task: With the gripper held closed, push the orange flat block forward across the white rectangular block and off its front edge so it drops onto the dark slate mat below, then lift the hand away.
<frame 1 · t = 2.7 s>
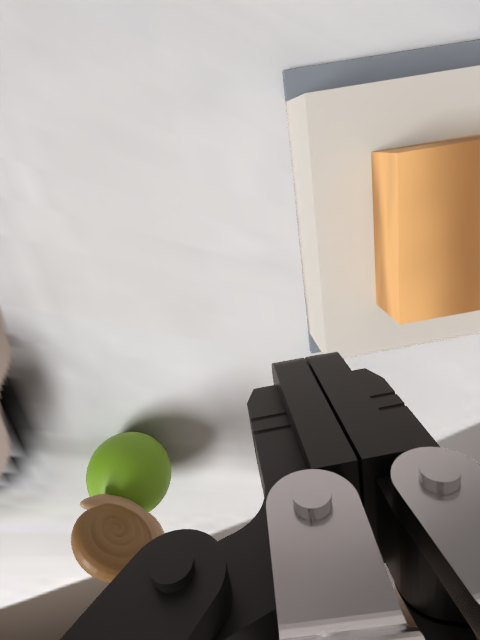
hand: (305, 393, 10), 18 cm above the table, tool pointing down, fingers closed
white rectangular block: (377, 214, 27), resting on mat
green maraca: (141, 448, 32), on the table
orange flat block: (429, 223, 23), point 4 cm above the table, touching white rectangular block
mat: (455, 200, 27), on the table
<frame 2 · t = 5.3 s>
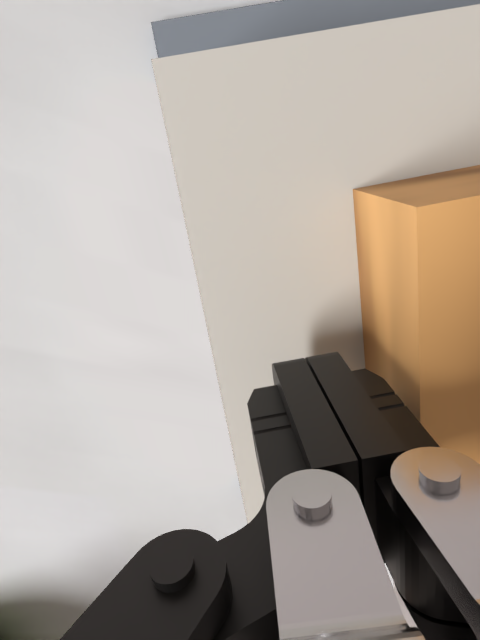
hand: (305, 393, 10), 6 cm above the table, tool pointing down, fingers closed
white rectangular block: (351, 286, 15), resting on mat
orange flat block: (478, 327, 11), point 5 cm above the table, touching white rectangular block, gripper
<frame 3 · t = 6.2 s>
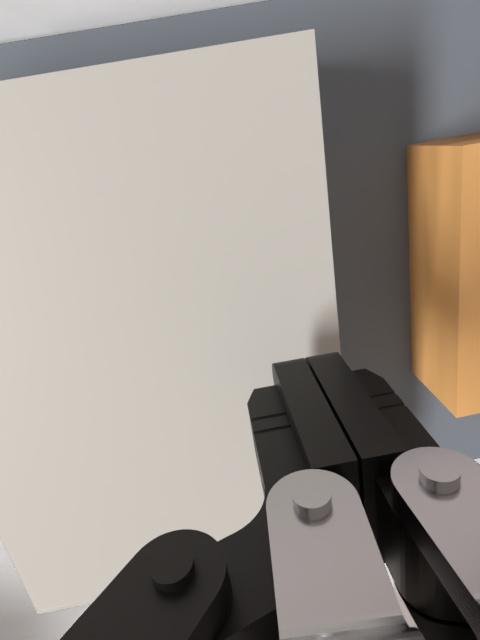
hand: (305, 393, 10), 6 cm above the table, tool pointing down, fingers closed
white rectangular block: (157, 320, 15), resting on mat
mat: (299, 294, 15), on the table
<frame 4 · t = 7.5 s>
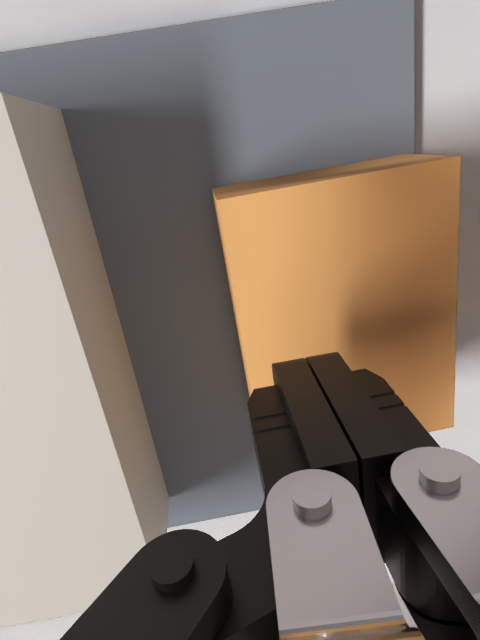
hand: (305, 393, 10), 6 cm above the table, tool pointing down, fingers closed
orange flat block: (351, 328, 12), point 3 cm above the table, tilted 180°, touching mat
mat: (126, 333, 15), on the table
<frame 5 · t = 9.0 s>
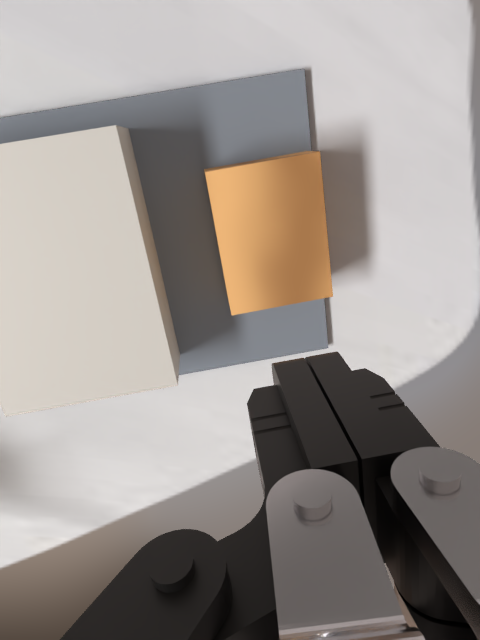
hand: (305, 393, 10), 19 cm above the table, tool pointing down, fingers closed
white rectangular block: (76, 265, 27), resting on mat
orange flat block: (273, 238, 24), point 3 cm above the table, tilted 180°, touching mat
mat: (157, 251, 27), on the table
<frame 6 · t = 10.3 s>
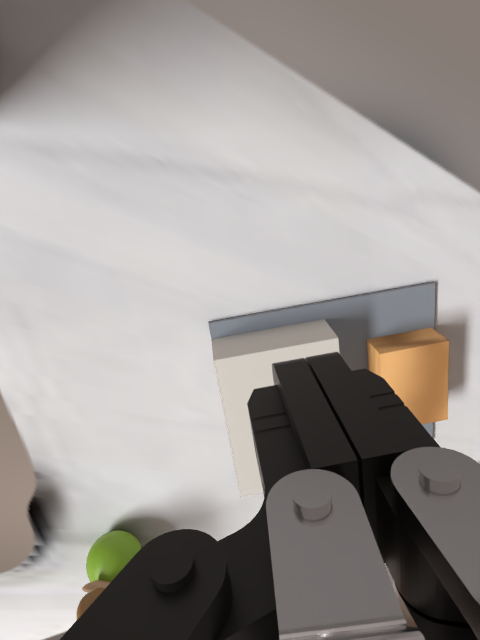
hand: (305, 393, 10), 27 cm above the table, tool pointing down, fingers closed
white rectangular block: (276, 394, 42), resting on mat
green maraca: (124, 538, 46), on the table
orange flat block: (415, 388, 39), point 3 cm above the table, tilted 180°, touching mat
mat: (328, 385, 42), on the table
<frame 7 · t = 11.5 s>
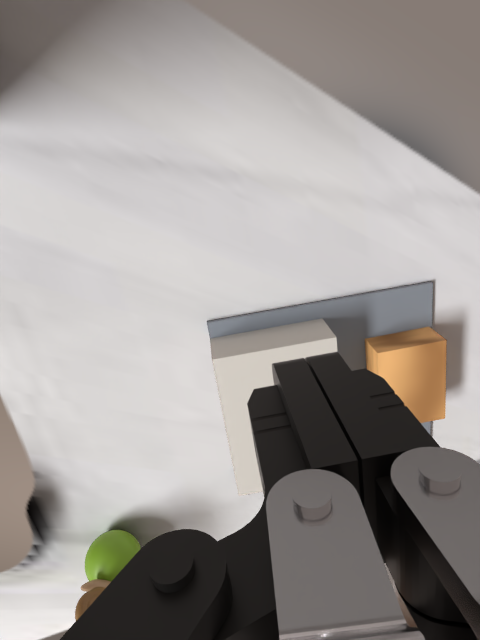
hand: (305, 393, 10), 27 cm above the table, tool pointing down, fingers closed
white rectangular block: (275, 394, 42), resting on mat
green maraca: (122, 537, 46), on the table
orange flat block: (412, 387, 39), point 3 cm above the table, tilted 180°, touching mat
mat: (327, 384, 42), on the table
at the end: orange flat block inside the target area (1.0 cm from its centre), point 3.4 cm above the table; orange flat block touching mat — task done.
